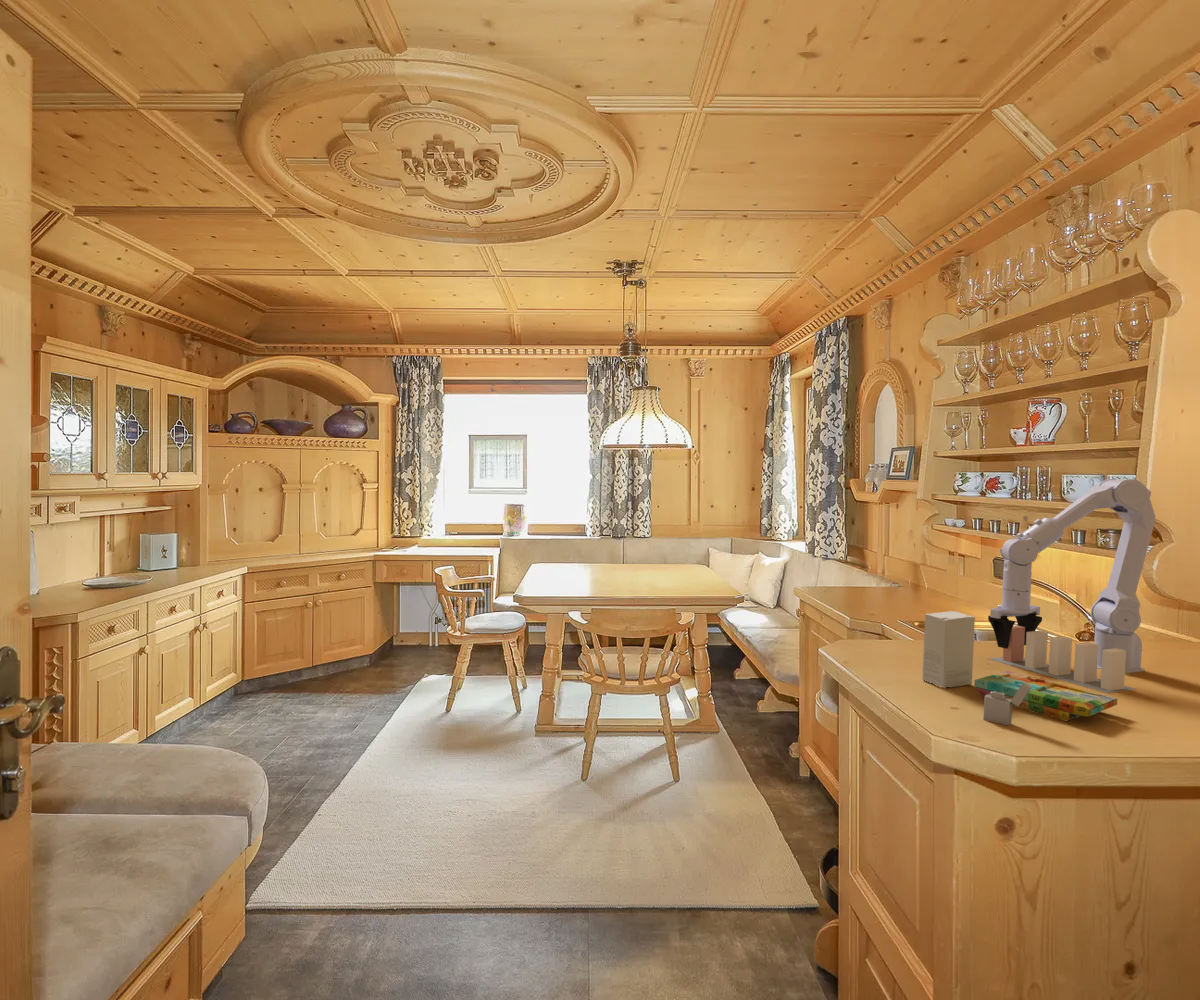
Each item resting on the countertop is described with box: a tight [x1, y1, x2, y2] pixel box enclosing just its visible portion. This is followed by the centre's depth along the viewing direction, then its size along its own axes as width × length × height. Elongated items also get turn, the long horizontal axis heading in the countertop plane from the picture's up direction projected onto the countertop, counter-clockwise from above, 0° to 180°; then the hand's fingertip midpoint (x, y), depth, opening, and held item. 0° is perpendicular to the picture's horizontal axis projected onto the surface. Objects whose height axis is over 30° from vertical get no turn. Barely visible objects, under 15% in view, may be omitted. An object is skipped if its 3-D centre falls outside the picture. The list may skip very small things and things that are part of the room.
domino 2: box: [1024, 630, 1049, 669], centre depth 158 cm, size 4×2×8 cm, turn 113°
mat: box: [989, 656, 1136, 695], centre depth 154 cm, size 9×27×1 cm, turn 23°
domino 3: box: [1048, 635, 1073, 676], centre depth 153 cm, size 4×2×8 cm, turn 113°
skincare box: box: [921, 610, 976, 689], centre depth 145 cm, size 8×6×15 cm
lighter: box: [982, 682, 1032, 727], centre depth 122 cm, size 7×2×8 cm, turn 46°
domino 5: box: [1100, 648, 1126, 691], centre depth 143 cm, size 4×2×8 cm, turn 113°
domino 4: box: [1073, 641, 1098, 683], centre depth 148 cm, size 4×2×8 cm, turn 113°
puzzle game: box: [974, 670, 1119, 722], centre depth 132 cm, size 12×5×20 cm
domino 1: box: [1002, 625, 1025, 662], centre depth 163 cm, size 4×2×8 cm, turn 113°
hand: (1013, 646), depth 163 cm, fingers open, 7 cm apart
